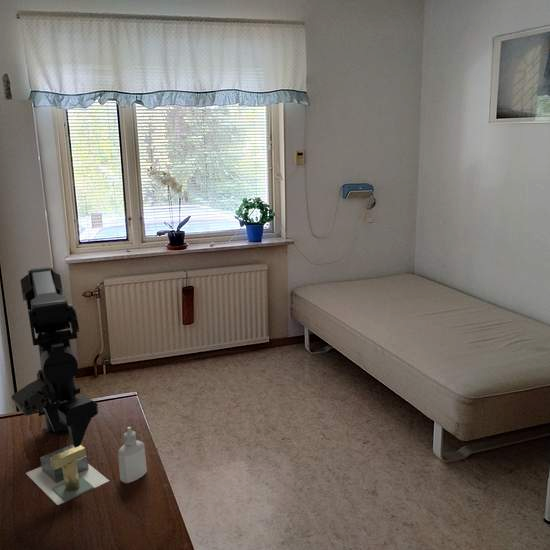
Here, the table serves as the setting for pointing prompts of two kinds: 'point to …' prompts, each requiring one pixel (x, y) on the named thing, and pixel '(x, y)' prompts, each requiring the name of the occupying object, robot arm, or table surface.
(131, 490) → the table surface
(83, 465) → the grey square frame
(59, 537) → the table surface
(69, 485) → the tan flat lever
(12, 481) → the table surface
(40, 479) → the board
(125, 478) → the eye dropper bottle
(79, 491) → the mat
